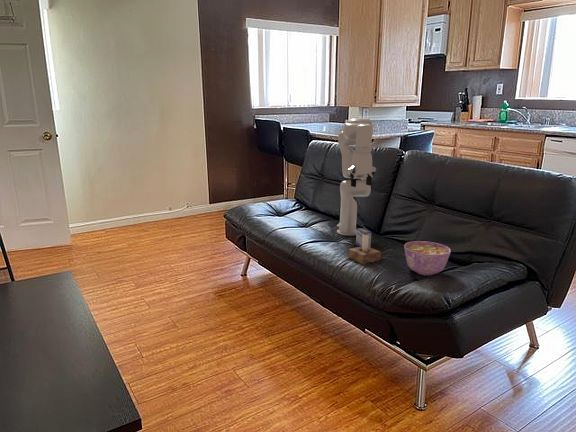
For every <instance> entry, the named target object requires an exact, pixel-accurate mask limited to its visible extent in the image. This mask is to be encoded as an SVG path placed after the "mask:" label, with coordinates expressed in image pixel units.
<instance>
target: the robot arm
mask: <svg viewBox="0 0 576 432" xmlns="http://www.w3.org/2000/svg"><path fill="white" fill-rule="evenodd" d="M373 134H374V128H373V122H372V120H371V119H370V118H364V117H363V118H361V117H354V118H353V117H352V118H350V119H348V120H347V121H346V122H344V123H343V126H342V131H340V132H339V133H338V136H337V142H338V143H337V144H338V147H339V150H340V153H341V170H342V176H343V178H346V179H345V180H342V181H341V182H340V185H339V192H340V211H339V213H340V215H339V222H338V224H336V227H338V229H337V230H336V234H338V235H342V236H348V237H349V236H351V237H353V236H356V233H357V215H358V203H357V200H355V199H354V197H358V198H359V197H361V198H363V197H368V196H370V194H371V191H372V189H371V187H372V178H374V175H375V173H376V171H377V168H376V167H375V166H373V155H372V151H373V148H372V139H373ZM351 146H354V147H355V149H354V148H353V147H351Z"/></svg>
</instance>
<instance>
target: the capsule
mask: <svg viewBox="0 0 576 432" xmlns="http://www.w3.org/2000/svg"><path fill="white" fill-rule="evenodd" d="M369 231H370V230H368V231H363V240H362V252H368V239H369Z"/></svg>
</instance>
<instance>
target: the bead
mask: <svg viewBox="0 0 576 432" xmlns="http://www.w3.org/2000/svg"><path fill="white" fill-rule="evenodd" d="M347 257H349V258H348V259H350V258H351V259H350V260H352V259H353V260H352V261H354V260H355V262H357V263H359V262H360V263H359V264H361V263H362V264H361V265H366V264H365V263H368V262H372V261H377V260H381V257H382V251H380V250H378V249H375V248H373V247H371V246H370V247H368V252H362V246H356V247H353V248H349V249H348V255H347ZM377 262H378V261H377ZM372 263H373V262H372ZM368 264H369V263H368Z"/></svg>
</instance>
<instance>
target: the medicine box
mask: <svg viewBox="0 0 576 432" xmlns="http://www.w3.org/2000/svg"><path fill="white" fill-rule="evenodd" d="M356 230H357V233H356V235H355V236H356V237H355V238H356V239H355V245H357V246H358V247H361V246H362V240H363V231H369V239H368V247H370V248H371V244H372V243H371V242H372V231H370V230H368V229H366V228H356Z"/></svg>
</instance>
